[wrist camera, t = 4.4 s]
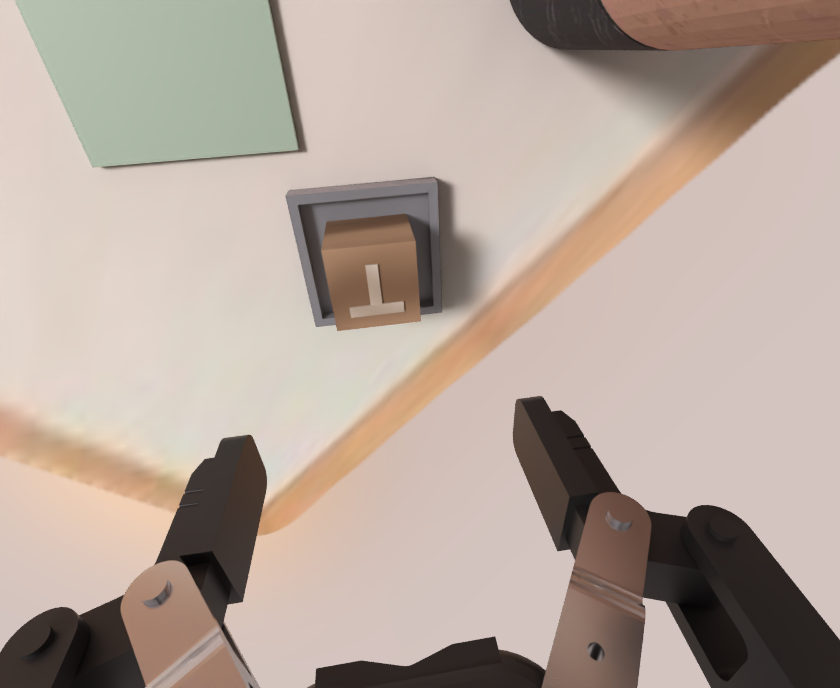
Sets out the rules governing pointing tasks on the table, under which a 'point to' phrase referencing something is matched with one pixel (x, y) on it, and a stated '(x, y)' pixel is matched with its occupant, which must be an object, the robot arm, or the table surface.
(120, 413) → the table surface
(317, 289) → the tray
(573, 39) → the travel mug
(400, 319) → the letter cube
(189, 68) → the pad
